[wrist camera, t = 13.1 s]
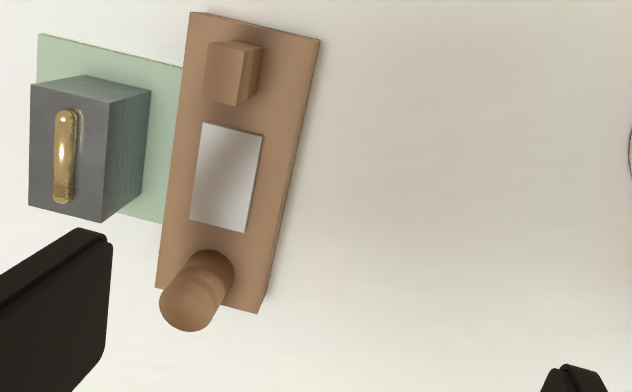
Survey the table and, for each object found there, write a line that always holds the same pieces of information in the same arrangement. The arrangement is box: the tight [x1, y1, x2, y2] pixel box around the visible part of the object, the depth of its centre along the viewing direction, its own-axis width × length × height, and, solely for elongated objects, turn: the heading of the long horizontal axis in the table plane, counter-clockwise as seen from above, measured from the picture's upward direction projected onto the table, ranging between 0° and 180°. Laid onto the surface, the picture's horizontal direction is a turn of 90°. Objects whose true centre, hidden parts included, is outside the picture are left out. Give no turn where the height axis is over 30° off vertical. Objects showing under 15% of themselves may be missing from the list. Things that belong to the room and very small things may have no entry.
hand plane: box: [155, 12, 320, 332], centre depth 34 cm, size 8×20×8 cm, turn 167°
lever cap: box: [28, 75, 152, 223], centre depth 35 cm, size 5×8×7 cm, turn 168°
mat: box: [37, 34, 183, 224], centre depth 38 cm, size 12×12×1 cm
